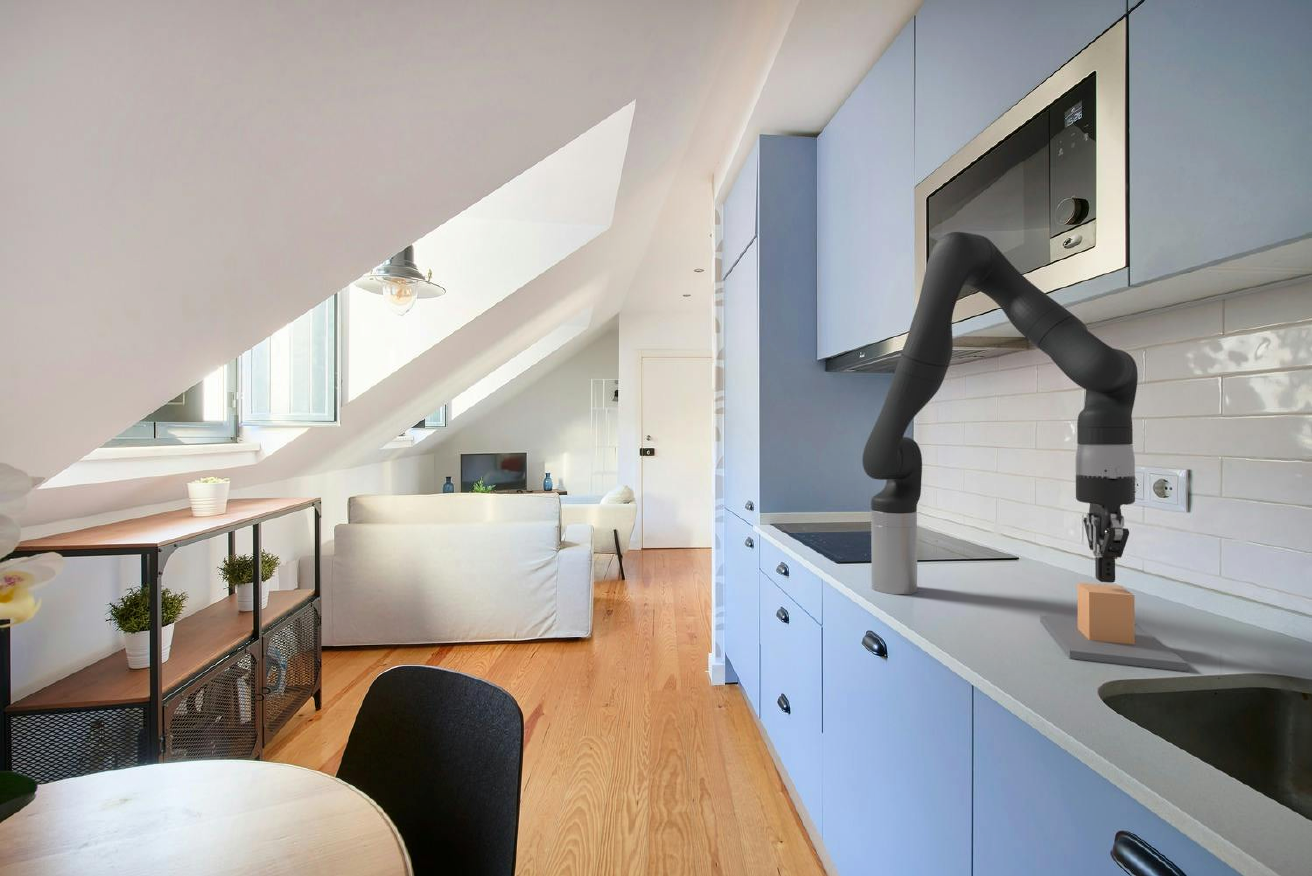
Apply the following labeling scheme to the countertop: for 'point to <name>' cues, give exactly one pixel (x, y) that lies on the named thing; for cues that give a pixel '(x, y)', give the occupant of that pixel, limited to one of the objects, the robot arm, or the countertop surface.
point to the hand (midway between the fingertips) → (1105, 581)
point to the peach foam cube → (1106, 613)
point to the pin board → (1112, 646)
